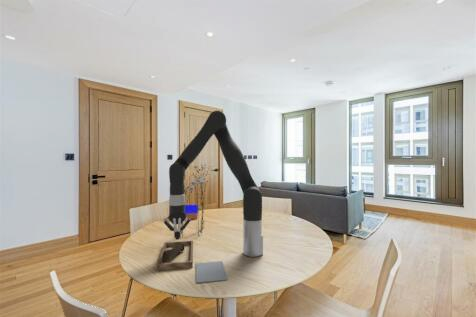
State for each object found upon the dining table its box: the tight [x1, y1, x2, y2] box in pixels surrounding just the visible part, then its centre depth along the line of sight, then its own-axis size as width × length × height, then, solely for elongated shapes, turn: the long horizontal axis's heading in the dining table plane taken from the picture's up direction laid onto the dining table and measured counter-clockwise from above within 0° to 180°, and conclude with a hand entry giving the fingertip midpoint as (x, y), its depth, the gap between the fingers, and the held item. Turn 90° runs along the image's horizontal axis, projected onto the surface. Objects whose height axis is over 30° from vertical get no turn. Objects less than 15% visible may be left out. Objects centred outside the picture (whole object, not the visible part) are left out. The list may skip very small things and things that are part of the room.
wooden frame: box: [156, 240, 194, 272], centre depth 110 cm, size 15×26×2 cm, turn 11°
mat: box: [195, 260, 228, 284], centre depth 95 cm, size 12×16×1 cm
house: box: [185, 204, 200, 220], centre depth 175 cm, size 12×20×12 cm, turn 95°
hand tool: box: [162, 243, 185, 263], centre depth 106 cm, size 19×4×5 cm, turn 167°
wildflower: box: [181, 163, 211, 238], centre depth 139 cm, size 22×23×45 cm
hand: (177, 238), depth 110 cm, fingers closed
